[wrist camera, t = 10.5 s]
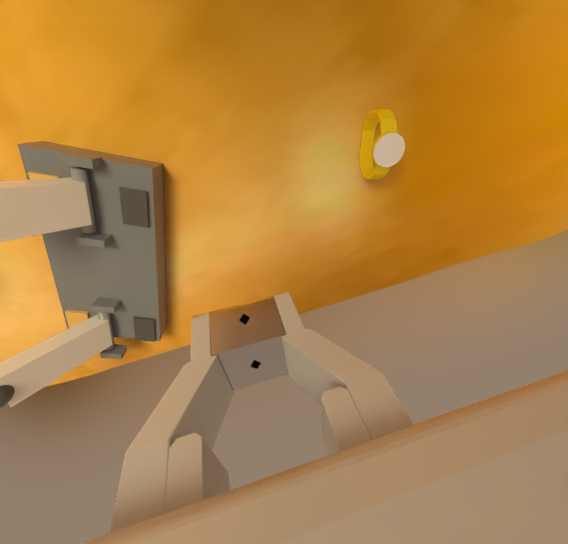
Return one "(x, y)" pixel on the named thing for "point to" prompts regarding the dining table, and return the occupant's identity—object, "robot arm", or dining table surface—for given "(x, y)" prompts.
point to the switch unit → (109, 242)
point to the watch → (380, 144)
